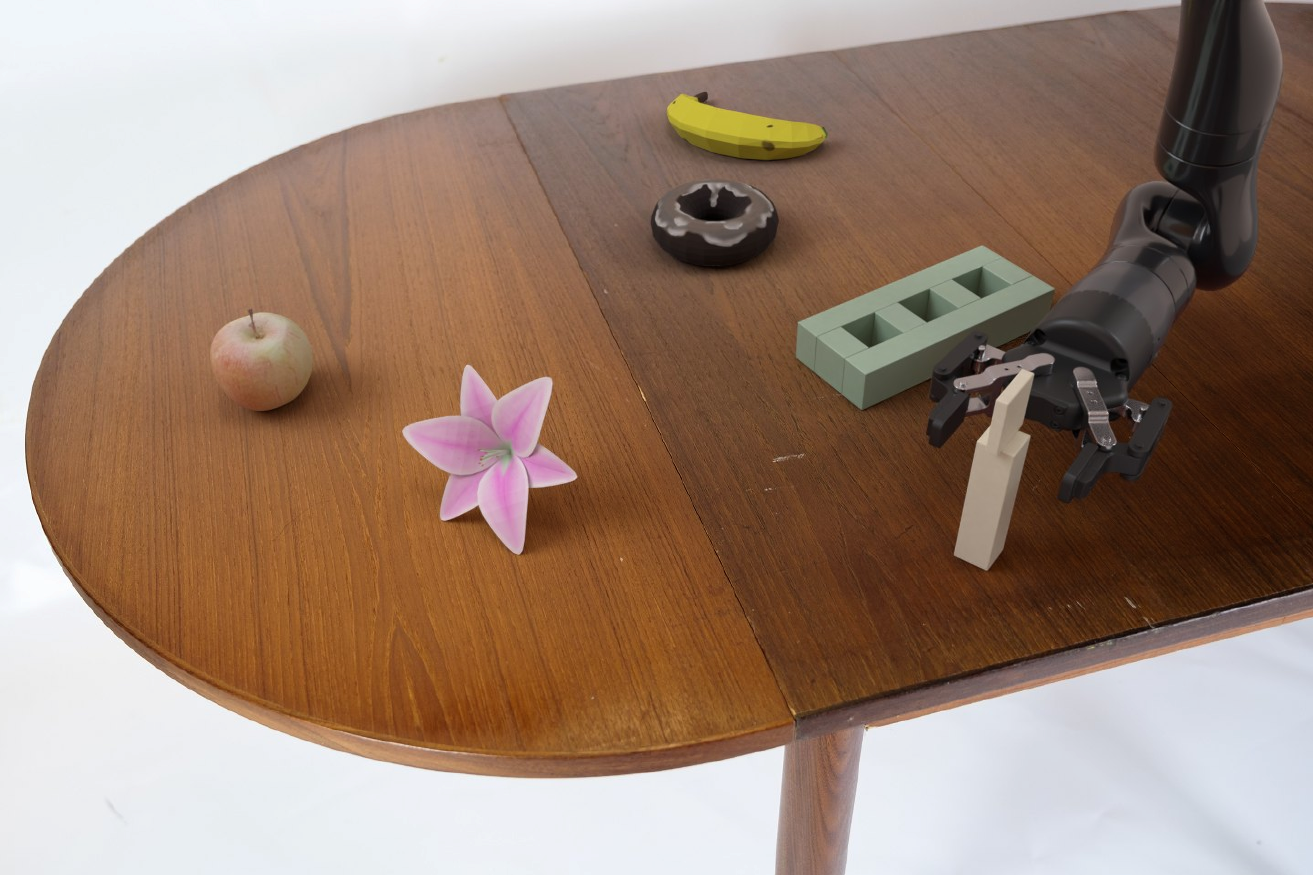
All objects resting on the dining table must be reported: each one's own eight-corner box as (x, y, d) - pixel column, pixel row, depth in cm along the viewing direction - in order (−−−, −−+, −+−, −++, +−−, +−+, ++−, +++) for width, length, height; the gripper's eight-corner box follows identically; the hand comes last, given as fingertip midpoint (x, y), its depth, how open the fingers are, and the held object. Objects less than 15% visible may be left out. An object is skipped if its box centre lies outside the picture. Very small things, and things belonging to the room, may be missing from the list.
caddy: (1047, 324, 93) (1055, 288, 91) (861, 411, 86) (865, 374, 83) (976, 279, 99) (982, 244, 96) (795, 357, 91) (797, 321, 89)
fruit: (240, 369, 92) (212, 286, 87) (330, 367, 92) (307, 284, 87) (212, 429, 87) (180, 345, 81) (307, 427, 86) (281, 342, 81)
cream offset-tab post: (1007, 544, 75) (1048, 377, 66) (983, 577, 73) (1022, 409, 64) (973, 529, 76) (1009, 363, 67) (949, 561, 74) (982, 394, 65)
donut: (802, 250, 103) (805, 211, 101) (692, 288, 99) (691, 249, 96) (734, 197, 111) (734, 160, 108) (628, 230, 107) (626, 193, 104)
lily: (409, 475, 83) (358, 431, 75) (531, 372, 85) (495, 317, 76) (506, 593, 79) (464, 562, 70) (632, 484, 81) (607, 439, 72)
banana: (828, 128, 112) (834, 88, 125) (656, 110, 114) (679, 72, 127) (821, 173, 115) (828, 129, 127) (653, 154, 116) (676, 112, 129)
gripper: (1013, 258, 80) (900, 373, 70) (1221, 326, 73) (1128, 464, 63) (995, 344, 84) (888, 463, 75) (1189, 416, 78) (1098, 556, 68)
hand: (998, 463), depth 69 cm, fingers open, 8 cm apart
